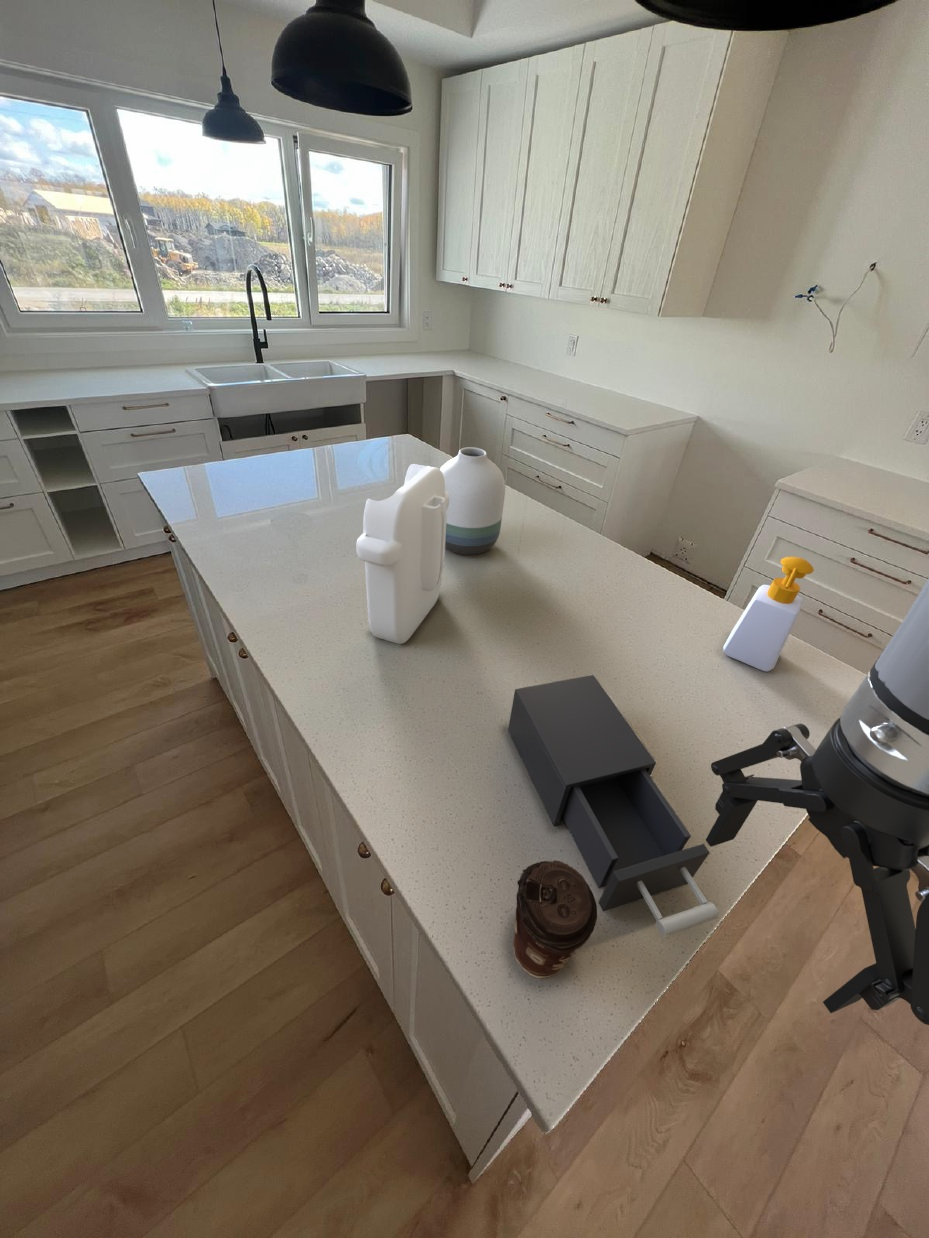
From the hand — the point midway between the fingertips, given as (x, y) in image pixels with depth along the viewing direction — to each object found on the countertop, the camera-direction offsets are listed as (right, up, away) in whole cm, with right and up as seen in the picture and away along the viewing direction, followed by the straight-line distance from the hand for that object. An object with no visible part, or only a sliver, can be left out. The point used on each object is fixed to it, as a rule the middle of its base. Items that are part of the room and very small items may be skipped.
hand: (772, 911), depth 44 cm
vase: (-26, +44, +89) cm, 102 cm away
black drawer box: (-10, +3, +36) cm, 37 cm away
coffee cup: (-18, -13, +15) cm, 27 cm away
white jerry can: (-37, +25, +63) cm, 77 cm away
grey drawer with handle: (-5, -6, +24) cm, 25 cm away
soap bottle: (+30, +17, +59) cm, 69 cm away
